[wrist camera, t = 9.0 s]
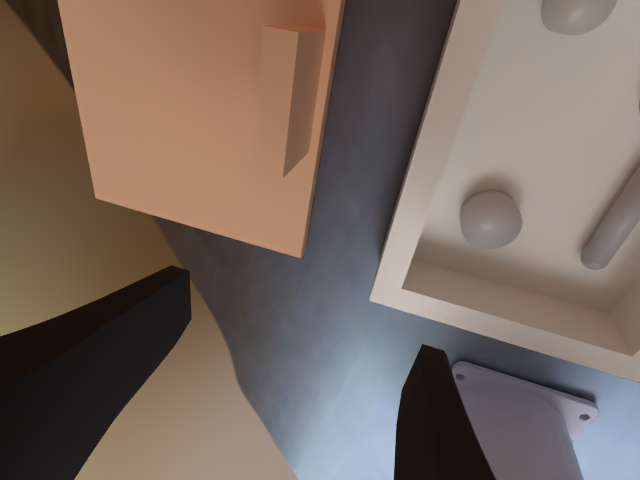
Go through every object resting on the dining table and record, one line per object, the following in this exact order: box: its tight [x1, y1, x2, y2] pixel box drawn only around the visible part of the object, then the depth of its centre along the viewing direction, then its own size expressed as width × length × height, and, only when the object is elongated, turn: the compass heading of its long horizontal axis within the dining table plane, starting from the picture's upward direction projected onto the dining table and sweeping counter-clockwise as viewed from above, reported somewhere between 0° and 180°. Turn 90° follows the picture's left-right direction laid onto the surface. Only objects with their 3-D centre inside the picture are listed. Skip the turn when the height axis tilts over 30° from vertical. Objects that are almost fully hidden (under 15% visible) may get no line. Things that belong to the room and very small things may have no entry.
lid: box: [58, 0, 346, 258], centre depth 16 cm, size 17×13×5 cm
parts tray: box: [369, 0, 640, 383], centre depth 14 cm, size 16×12×4 cm
